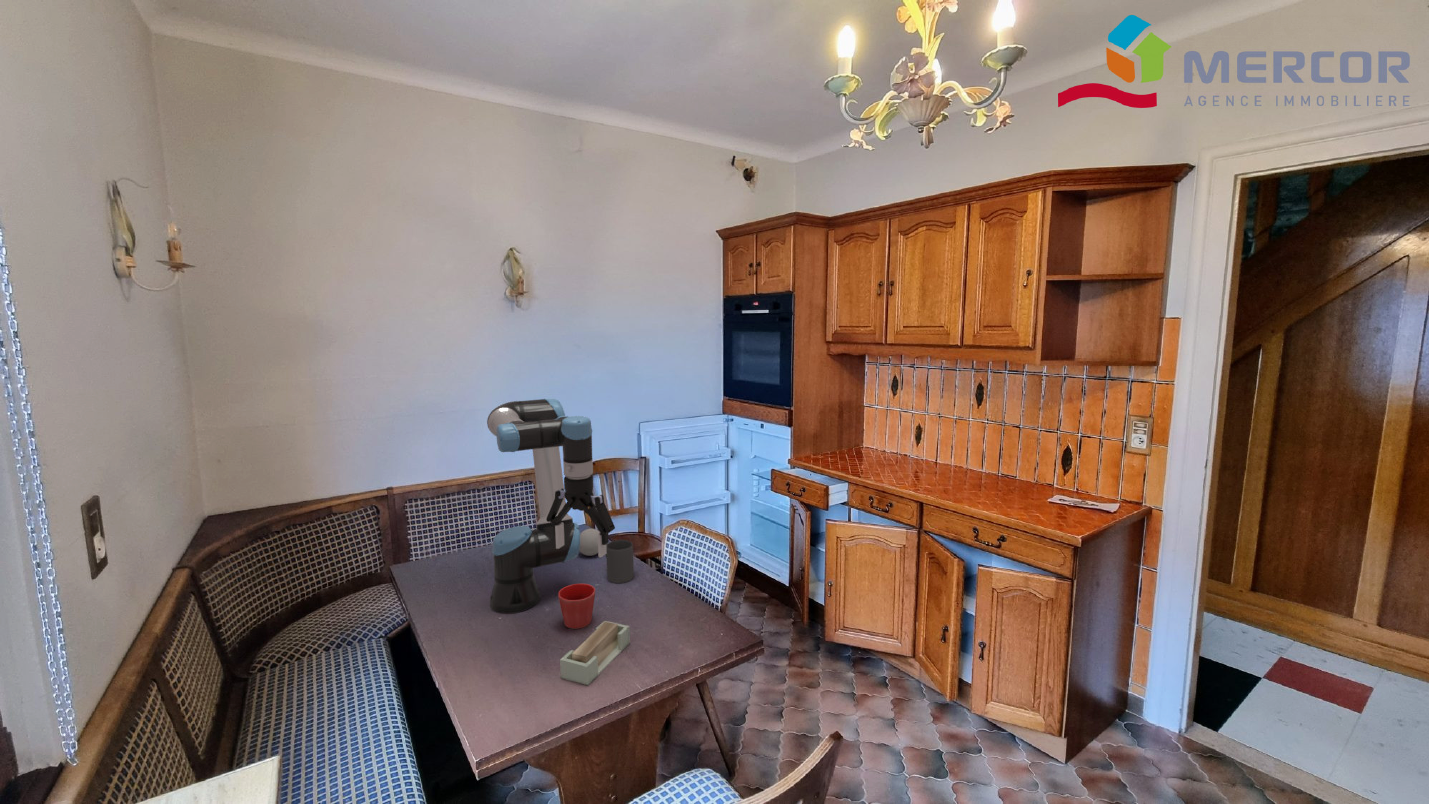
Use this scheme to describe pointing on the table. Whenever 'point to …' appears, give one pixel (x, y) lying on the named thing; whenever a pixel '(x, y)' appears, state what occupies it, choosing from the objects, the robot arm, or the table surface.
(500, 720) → the table surface
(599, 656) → the wooden block
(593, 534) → the ball
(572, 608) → the flower pot
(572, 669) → the green tray
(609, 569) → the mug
